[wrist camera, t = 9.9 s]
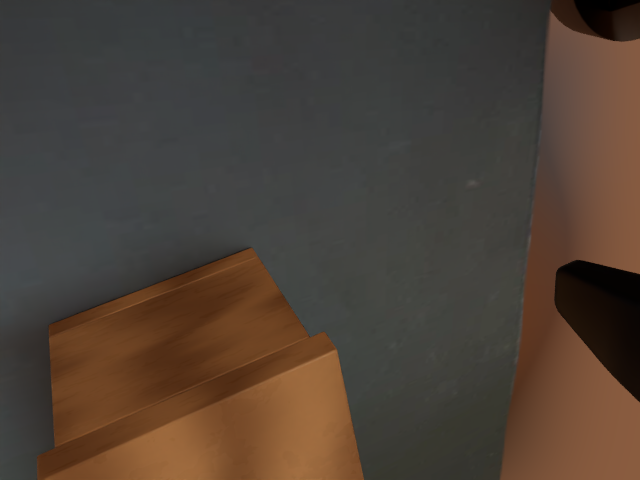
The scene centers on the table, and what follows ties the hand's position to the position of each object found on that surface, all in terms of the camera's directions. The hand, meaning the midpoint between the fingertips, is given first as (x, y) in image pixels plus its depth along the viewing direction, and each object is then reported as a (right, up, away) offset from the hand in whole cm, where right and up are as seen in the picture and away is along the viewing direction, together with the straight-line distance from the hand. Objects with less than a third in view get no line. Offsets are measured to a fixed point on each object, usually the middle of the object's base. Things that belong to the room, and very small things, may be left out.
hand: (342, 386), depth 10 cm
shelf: (-6, -5, +16) cm, 18 cm away
